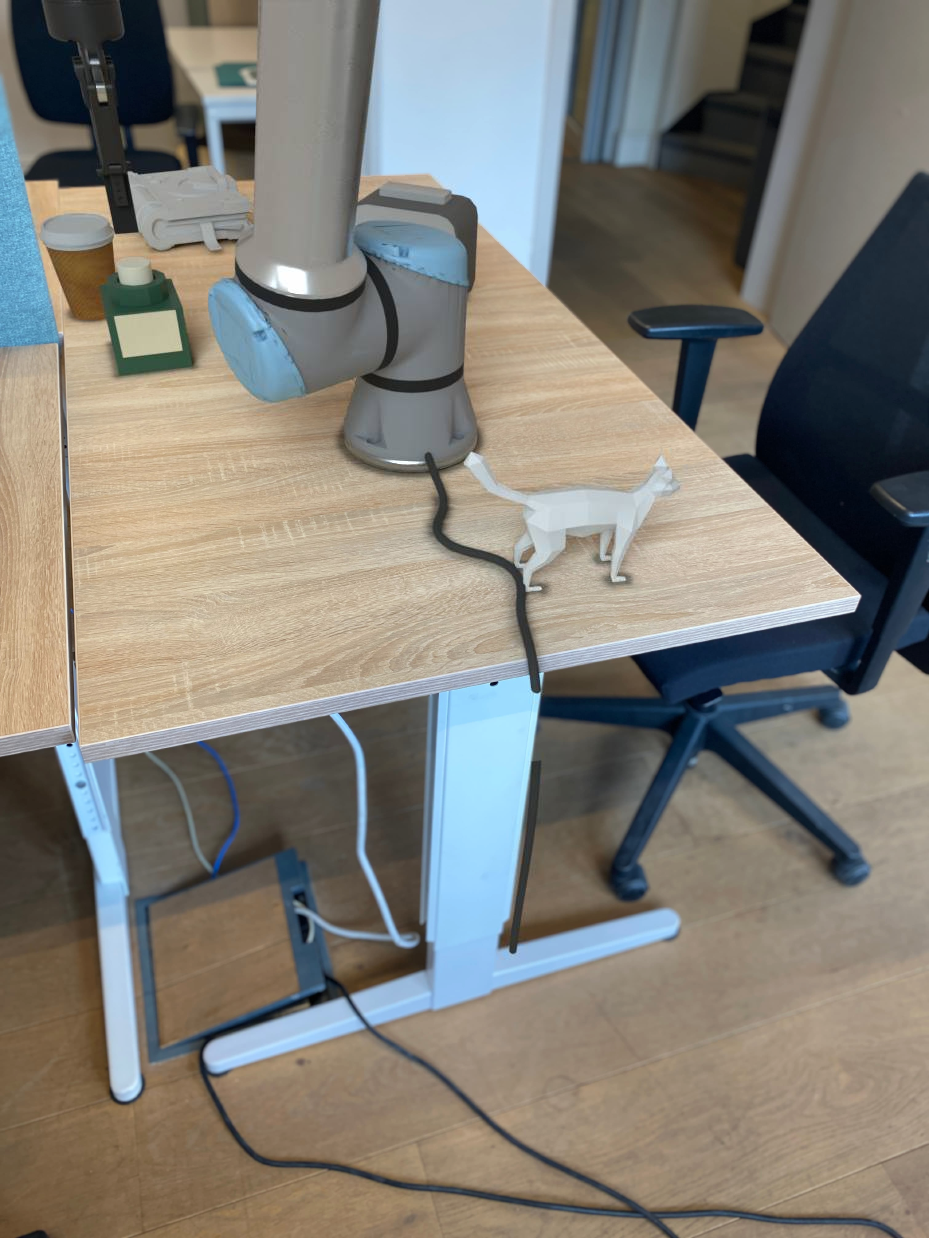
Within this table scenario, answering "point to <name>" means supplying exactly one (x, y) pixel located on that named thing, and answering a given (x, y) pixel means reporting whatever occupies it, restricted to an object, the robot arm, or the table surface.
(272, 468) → the table surface
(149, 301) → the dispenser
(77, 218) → the disposable coffee cup
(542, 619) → the table surface
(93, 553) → the table surface
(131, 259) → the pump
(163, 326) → the bottle label
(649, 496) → the cat figurine
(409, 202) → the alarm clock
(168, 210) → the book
